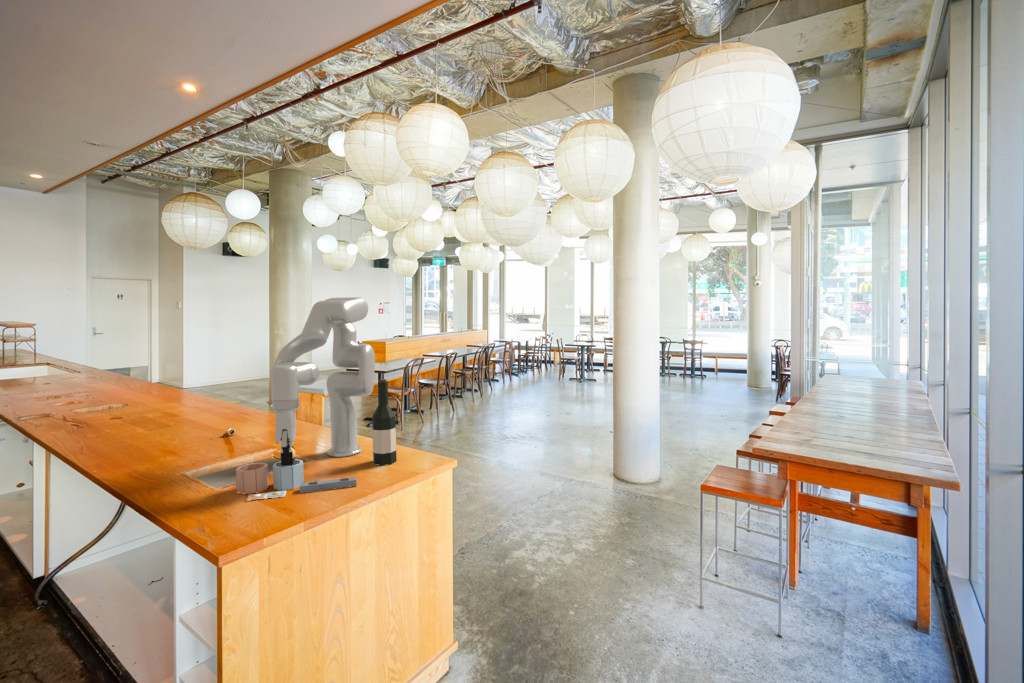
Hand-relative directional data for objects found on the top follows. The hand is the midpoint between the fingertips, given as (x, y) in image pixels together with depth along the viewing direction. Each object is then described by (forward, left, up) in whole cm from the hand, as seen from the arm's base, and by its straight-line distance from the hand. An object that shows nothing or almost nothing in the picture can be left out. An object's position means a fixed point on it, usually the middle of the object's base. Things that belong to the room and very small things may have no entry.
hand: (288, 462), depth 145 cm
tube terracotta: (0, -10, -7) cm, 12 cm away
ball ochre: (0, 0, 0) cm, 0 cm away
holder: (+7, +12, -7) cm, 16 cm away
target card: (+8, -5, -7) cm, 12 cm away
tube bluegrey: (0, 0, -7) cm, 7 cm away
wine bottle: (-14, +30, -8) cm, 34 cm away
